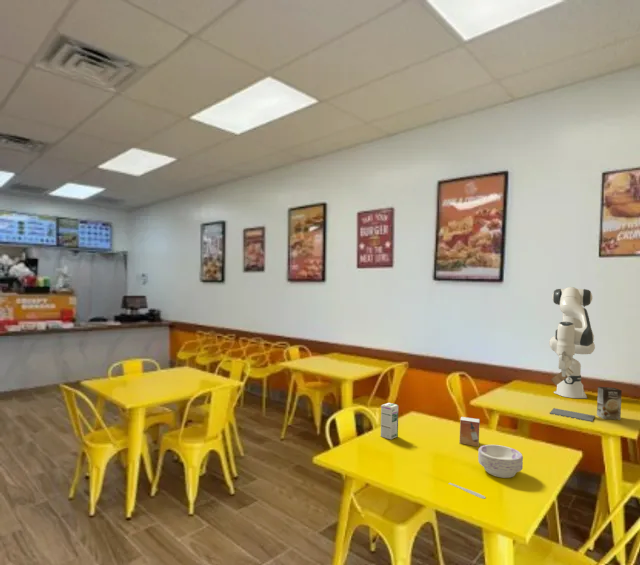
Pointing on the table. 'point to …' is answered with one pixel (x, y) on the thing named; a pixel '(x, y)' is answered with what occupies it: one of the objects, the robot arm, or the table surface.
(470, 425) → the small box
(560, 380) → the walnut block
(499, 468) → the paper bowls
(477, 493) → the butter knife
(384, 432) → the syrup box
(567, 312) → the robot arm
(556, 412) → the mat
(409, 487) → the table surface
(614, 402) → the coffee box
